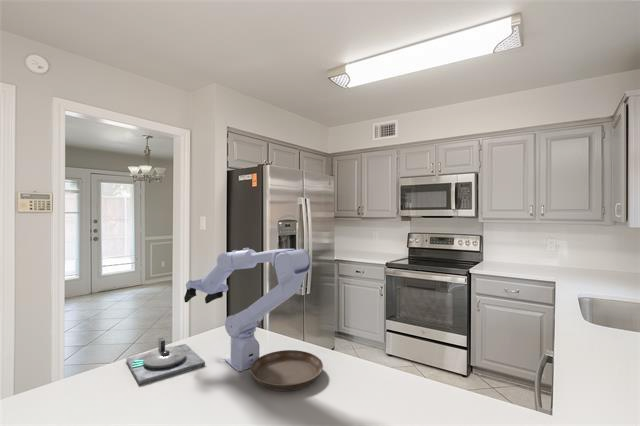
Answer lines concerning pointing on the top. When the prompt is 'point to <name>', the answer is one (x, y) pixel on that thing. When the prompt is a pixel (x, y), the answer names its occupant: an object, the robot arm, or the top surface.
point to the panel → (152, 374)
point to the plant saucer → (286, 369)
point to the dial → (164, 356)
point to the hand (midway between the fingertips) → (195, 300)
